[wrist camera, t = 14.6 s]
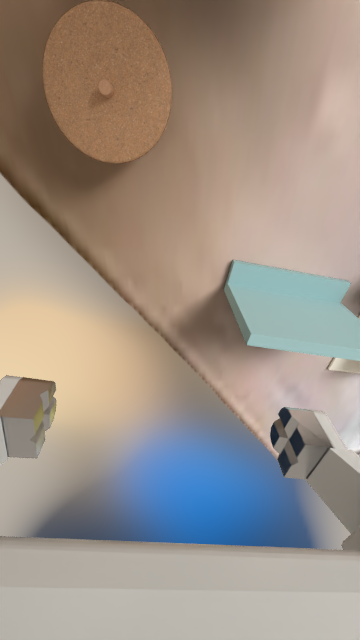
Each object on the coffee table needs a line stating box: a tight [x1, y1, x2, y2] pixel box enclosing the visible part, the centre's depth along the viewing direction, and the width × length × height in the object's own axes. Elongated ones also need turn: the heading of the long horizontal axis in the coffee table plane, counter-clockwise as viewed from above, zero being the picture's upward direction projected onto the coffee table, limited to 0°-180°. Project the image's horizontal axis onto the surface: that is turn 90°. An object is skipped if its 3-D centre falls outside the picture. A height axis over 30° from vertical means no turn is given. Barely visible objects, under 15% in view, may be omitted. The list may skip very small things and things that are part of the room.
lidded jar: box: [42, 0, 172, 163], centre depth 26 cm, size 11×11×9 cm
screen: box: [224, 260, 360, 361], centre depth 36 cm, size 5×18×14 cm, turn 79°
